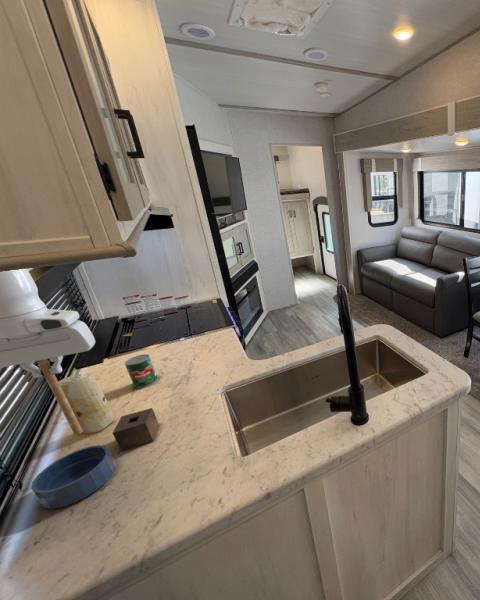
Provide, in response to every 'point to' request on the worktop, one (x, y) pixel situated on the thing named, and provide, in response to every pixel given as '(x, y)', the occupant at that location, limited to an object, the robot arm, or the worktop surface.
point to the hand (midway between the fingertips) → (49, 374)
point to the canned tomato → (141, 371)
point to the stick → (60, 396)
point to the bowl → (74, 476)
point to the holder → (136, 429)
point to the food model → (87, 402)
